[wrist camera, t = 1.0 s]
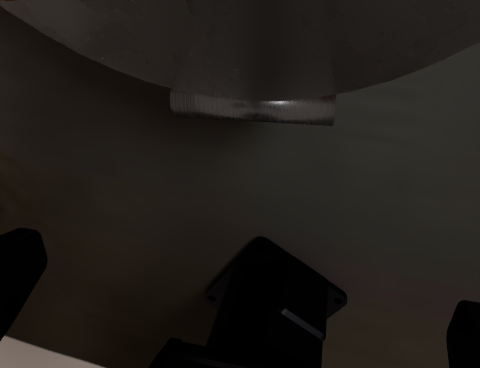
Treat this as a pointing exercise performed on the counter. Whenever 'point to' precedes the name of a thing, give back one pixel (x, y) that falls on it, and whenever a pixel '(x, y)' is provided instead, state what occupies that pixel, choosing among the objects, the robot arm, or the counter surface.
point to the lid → (258, 47)
